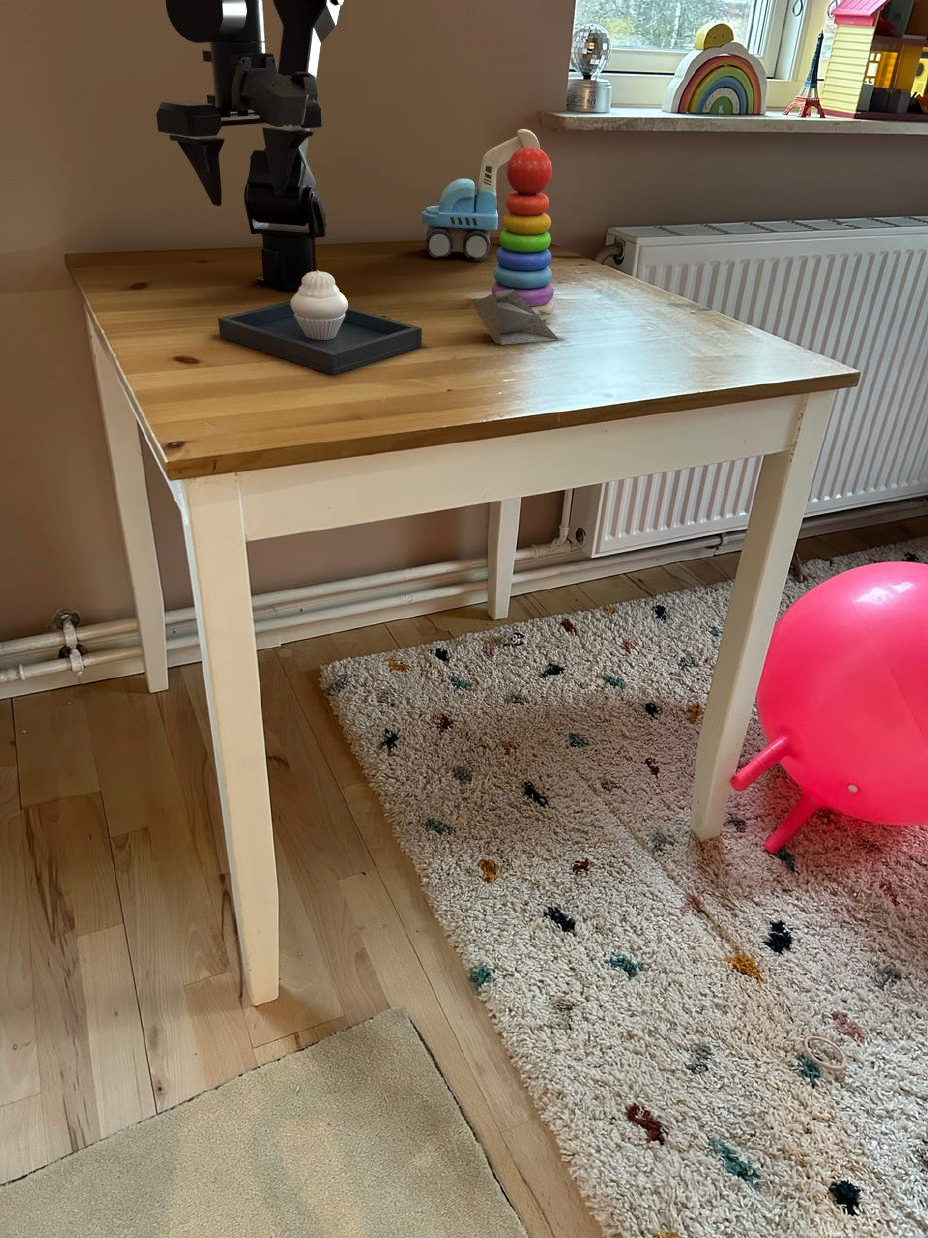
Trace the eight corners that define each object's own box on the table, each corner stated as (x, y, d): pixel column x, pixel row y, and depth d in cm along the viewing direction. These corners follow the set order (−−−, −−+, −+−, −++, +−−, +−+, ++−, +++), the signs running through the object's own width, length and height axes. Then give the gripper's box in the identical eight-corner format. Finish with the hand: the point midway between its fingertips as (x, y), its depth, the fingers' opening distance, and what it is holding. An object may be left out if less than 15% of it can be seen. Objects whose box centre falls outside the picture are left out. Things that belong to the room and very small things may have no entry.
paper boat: (523, 313, 113) (587, 308, 107) (511, 365, 113) (574, 363, 107) (458, 267, 104) (524, 259, 98) (445, 324, 104) (510, 319, 98)
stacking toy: (484, 306, 120) (493, 140, 109) (547, 307, 120) (561, 142, 110) (491, 324, 113) (501, 149, 103) (557, 325, 114) (574, 152, 103)
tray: (310, 314, 114) (309, 296, 112) (422, 346, 105) (422, 327, 103) (219, 337, 104) (217, 318, 103) (333, 375, 95) (332, 354, 94)
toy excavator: (533, 264, 140) (543, 134, 131) (420, 259, 140) (422, 128, 130) (530, 251, 147) (539, 127, 138) (423, 246, 147) (424, 121, 138)
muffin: (315, 324, 108) (312, 260, 104) (359, 334, 105) (358, 269, 102) (280, 337, 103) (276, 270, 99) (325, 348, 101) (323, 280, 97)
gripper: (215, 45, 89) (231, 221, 98) (355, 45, 102) (357, 202, 110) (143, 38, 95) (164, 206, 104) (284, 39, 108) (292, 188, 116)
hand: (249, 200), depth 108 cm, fingers open, 9 cm apart
